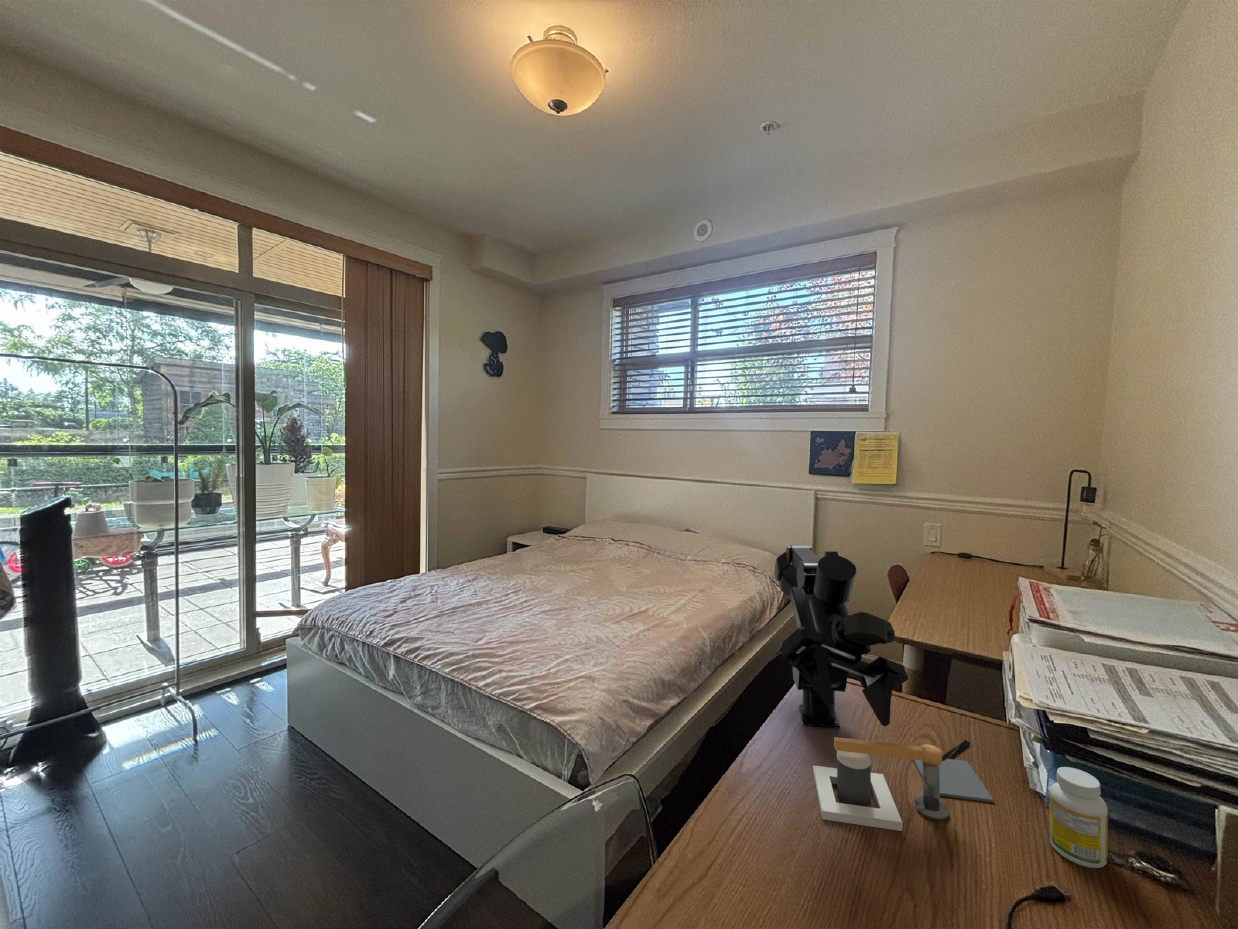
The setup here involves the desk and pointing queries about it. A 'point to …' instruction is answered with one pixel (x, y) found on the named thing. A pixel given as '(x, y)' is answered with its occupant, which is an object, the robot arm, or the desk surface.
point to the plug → (853, 778)
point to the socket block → (856, 814)
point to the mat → (959, 780)
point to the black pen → (955, 750)
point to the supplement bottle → (1078, 818)
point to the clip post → (931, 795)
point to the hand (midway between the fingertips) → (858, 715)
